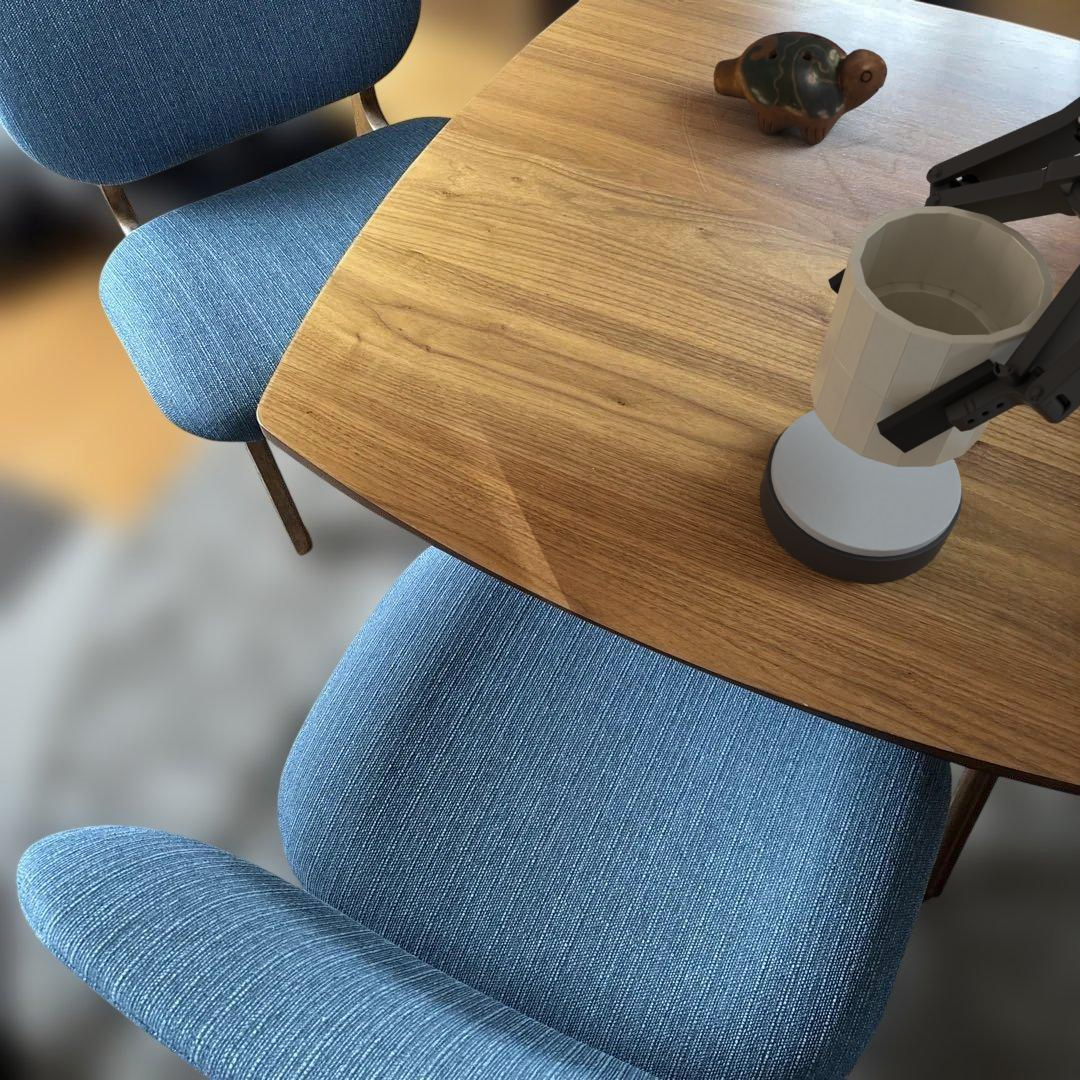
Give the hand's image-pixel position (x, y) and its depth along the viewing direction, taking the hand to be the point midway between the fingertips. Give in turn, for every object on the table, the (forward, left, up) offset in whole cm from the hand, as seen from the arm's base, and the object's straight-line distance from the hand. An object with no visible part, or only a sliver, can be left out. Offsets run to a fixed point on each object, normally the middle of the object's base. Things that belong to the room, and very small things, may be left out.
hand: (864, 363), depth 60 cm
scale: (-1, -3, -14) cm, 15 cm away
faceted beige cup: (-1, -3, -4) cm, 5 cm away
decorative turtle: (+39, -21, -15) cm, 47 cm away
